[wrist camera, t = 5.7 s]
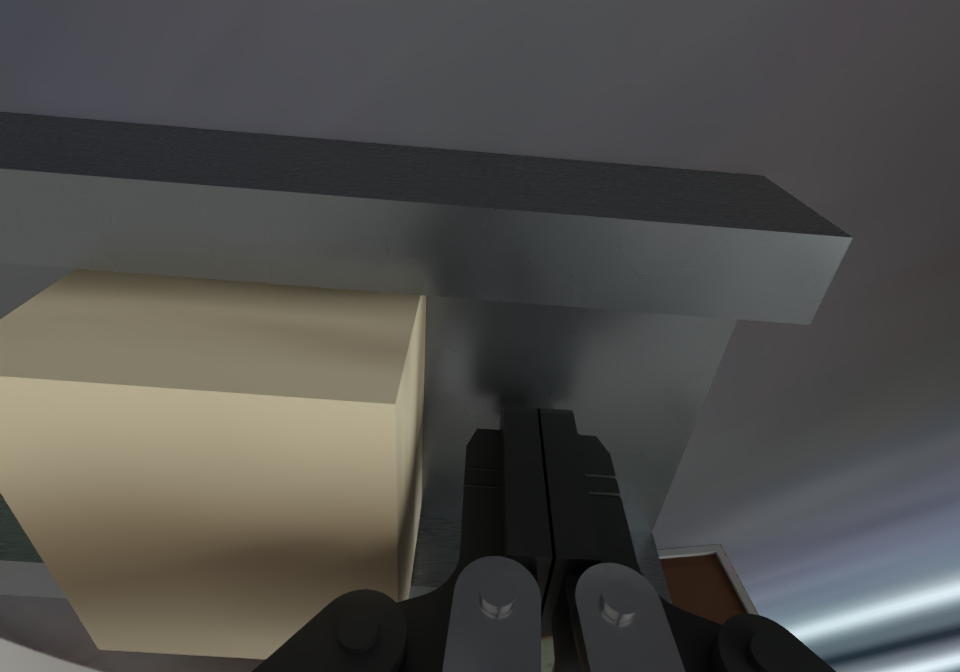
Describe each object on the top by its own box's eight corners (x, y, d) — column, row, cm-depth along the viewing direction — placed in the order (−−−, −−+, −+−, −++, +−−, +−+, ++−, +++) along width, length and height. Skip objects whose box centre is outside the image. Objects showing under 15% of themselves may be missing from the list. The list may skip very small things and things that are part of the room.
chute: (-543, 66, 10) (-1097, 108, 6) (763, 176, 10) (896, 267, 7) (-176, 481, 16) (-357, 616, 12) (630, 534, 16) (667, 676, 13)
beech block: (112, 244, 10) (-77, 370, 7) (426, 268, 10) (394, 404, 7) (193, 490, 14) (98, 649, 11) (420, 505, 14) (399, 667, 11)
